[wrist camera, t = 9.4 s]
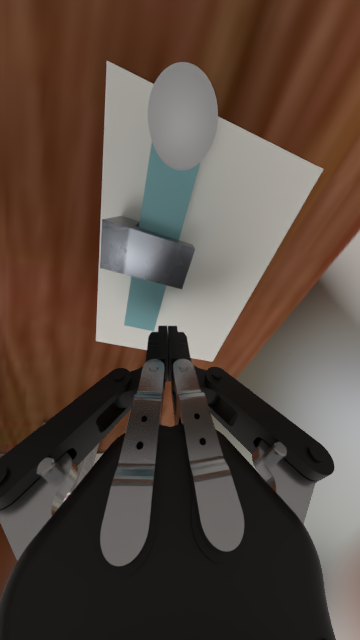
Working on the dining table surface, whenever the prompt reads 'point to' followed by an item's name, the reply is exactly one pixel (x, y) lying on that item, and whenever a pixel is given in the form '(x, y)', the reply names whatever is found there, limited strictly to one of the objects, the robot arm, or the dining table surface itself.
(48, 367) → the dining table surface
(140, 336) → the board
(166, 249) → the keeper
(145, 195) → the teal long piece
